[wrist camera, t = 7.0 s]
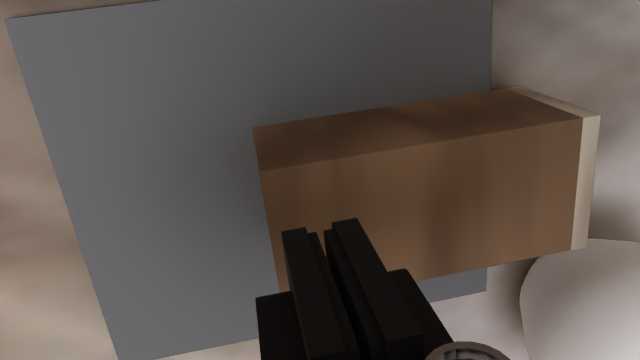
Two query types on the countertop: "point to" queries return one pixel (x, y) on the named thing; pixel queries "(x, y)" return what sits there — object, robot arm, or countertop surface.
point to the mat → (217, 137)
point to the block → (437, 179)
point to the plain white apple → (584, 303)
